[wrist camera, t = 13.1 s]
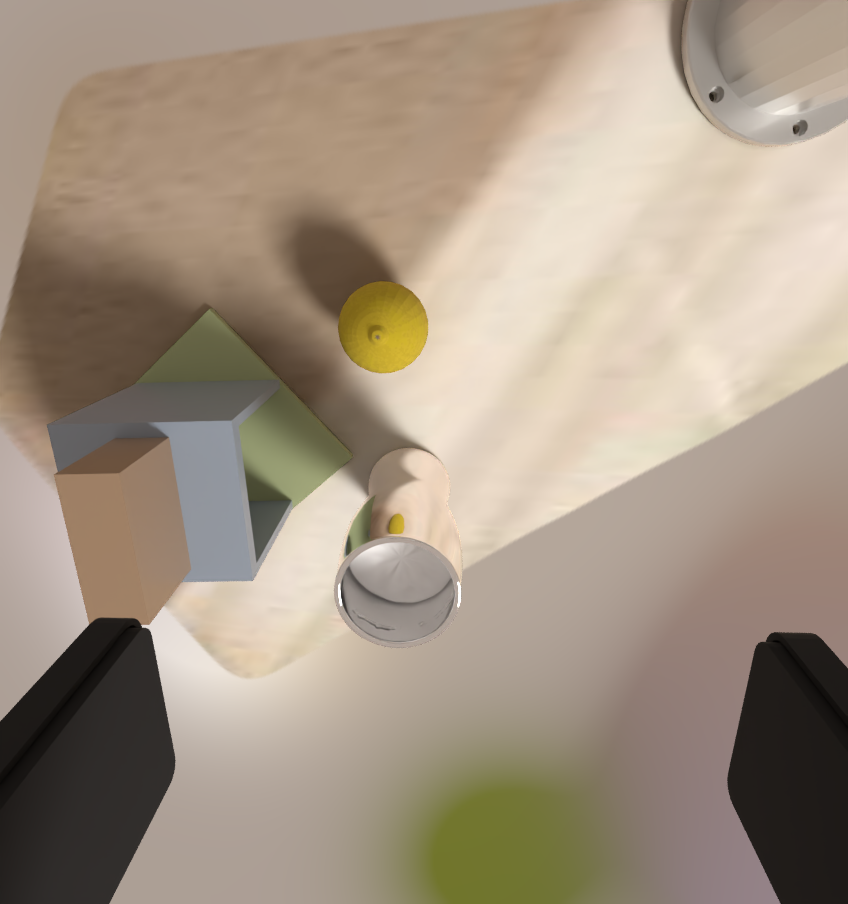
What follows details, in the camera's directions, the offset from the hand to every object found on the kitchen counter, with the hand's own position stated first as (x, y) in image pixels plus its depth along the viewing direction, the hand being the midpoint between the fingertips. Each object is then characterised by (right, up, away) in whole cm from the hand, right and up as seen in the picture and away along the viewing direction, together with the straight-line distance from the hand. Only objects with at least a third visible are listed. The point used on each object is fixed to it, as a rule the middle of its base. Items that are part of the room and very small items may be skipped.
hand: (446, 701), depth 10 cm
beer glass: (-1, +1, +36) cm, 36 cm away
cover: (-15, +4, +35) cm, 38 cm away
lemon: (-3, +13, +32) cm, 35 cm away
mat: (-15, +4, +35) cm, 39 cm away
